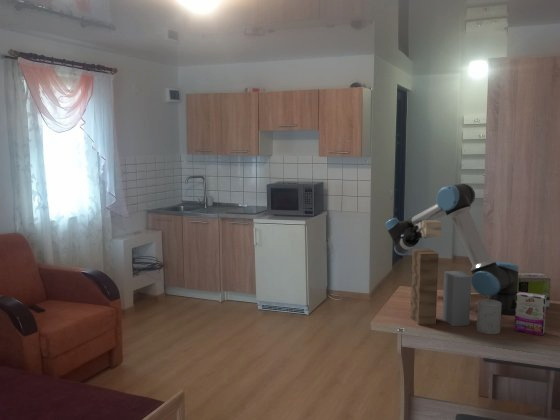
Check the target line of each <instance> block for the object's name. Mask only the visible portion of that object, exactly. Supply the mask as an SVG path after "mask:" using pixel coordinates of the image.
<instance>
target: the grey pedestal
mask: <svg viewBox="0 0 560 420" xmlns="http://www.w3.org/2000/svg"><path fill="white" fill-rule="evenodd" d="M443 272H444V273H443V294H442V295H443V298H442V315H441V316H442V317H441V319H442V320H444V321H445V322H446V323H448V324H449V325H450V326H451V327H458V326H459V327H460V326H462V327H463V326H470V320H471V319H470V316H471V315H470V314H471V296H472V294H471V292H472V283H471V279H472V276H471V275H469V274H467V273H466V272H464V271H462V270H451V271H450V270H447V271H443Z"/></svg>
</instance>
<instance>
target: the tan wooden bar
mask: <svg viewBox="0 0 560 420" xmlns="http://www.w3.org/2000/svg"><path fill="white" fill-rule="evenodd" d="M417 224H418V223H416V224H415V225H414V227H415V226H416V225H417ZM418 232H420V233H422V236H424V237H426V238H425V239H427V238H441V237H442V221H440V220H439V219H438V220H422V228H421V229H420V230H419V231H418Z"/></svg>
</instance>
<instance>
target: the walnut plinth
mask: <svg viewBox="0 0 560 420" xmlns="http://www.w3.org/2000/svg"><path fill="white" fill-rule="evenodd" d="M411 253H412V259H411V260H412V261H411V288H410V289H411V292H410V297H411V298H410V319H412V320H413V321H414V322H415V324H417V325H418V326H420V325H421V326H423V325H425V326H427V325H437V324H436V323H437V322H436V321H437V304H438V302H437V301H438V282H439V279H438V278H439V277H438V276H439V255H440V253H438V252H436V251H434V250H433V249H431V248H412V252H411Z"/></svg>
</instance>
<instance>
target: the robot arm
mask: <svg viewBox="0 0 560 420" xmlns="http://www.w3.org/2000/svg"><path fill="white" fill-rule="evenodd" d="M435 197H436V199H435V201H436V203H435V204H433V205H431V206H430V207H428V208H426V209H425V210H423V211H421V212H419V213H418V214H415V215H414V216H412V217H411V218H409V219H407V220H402V221H401V220H399V219H398V217H393V218H391V219H388V220H387V221H386V222H385V224H384V226H385V227H386V229H387V232H388V234H389V236H390V238H391V239H392V242H393V244H394V248H393V249H394V252H395V253H396V255H399V256H405V255H406V254H408V253H409V252H410V251H411V250H413V249H414V247H415V246H416V245H417V244H418V243H419V241H420V239H422V238H424V239H427V238H426V237H424V236H422V233H420V232H418V231H419V230H420V229H421V228H422V220H438V221H439V219H442V218H443V217H445V216H447V217H448V218H450V219H451V220H452V221H453V224H454V227H455V229H456V231H457V233H458V235H459V238H460V240H461V242H462V245H463V247H464V249H465V251H466V255H467V256H468V259H469V261H470V264H471V266H472V267H471V269H470V272H471V274H472V276H471V287H472V288H473V289H474V291H475V292H476V293H478V294H479V295H482V296H486V297H487V299H492V300H496V301H499V302H501V303H502V306H501V315H515V311H516V294H517V284H518V273H520V272H519V266H518V264H516V263H512V262H508V261H502V260H501V261H498V260H496V261H495V260H494V259H492V258H491V257H490V254H489V252H488V251H487V250H488V249H487V248H486V245H485V242H484V240H483V239H482V236H481V234H480V232H479V230H478V228H477V225H476V222H475V221H474V218H473V216H472V214H471V209H472V204H473V203H474V202H475V200H476V192H475V189H474V188H473V187H472V186H471V185H469V184H466V183H458V184H449V185H445V186H443V187H441V188H440V189H439V190H438V192H437V194H436V196H435ZM416 223H418V224H417V225H416V226H415V227H414V225H415V224H416Z"/></svg>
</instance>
